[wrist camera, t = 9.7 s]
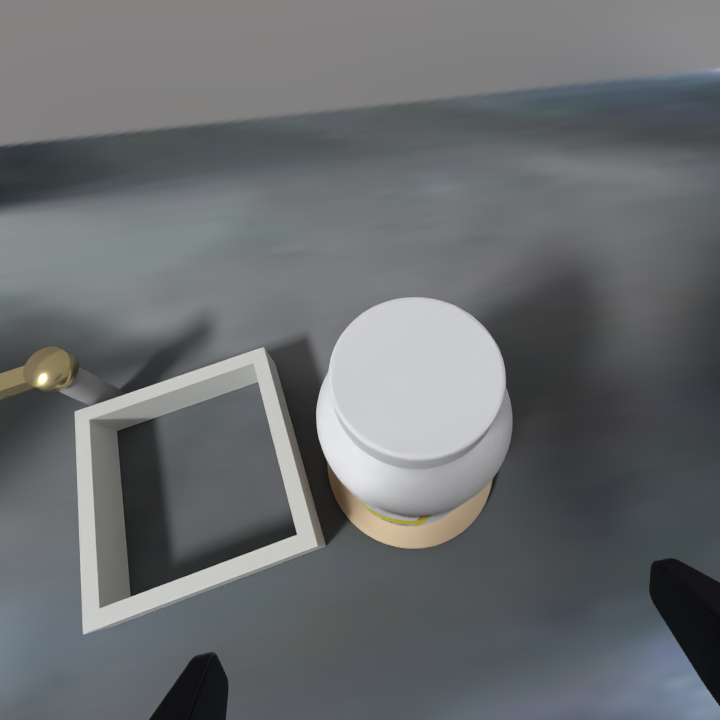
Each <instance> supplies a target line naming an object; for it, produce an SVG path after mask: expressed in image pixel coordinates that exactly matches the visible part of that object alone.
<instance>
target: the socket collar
mask: <svg viewBox="0 0 720 720" xmlns="http://www.w3.org/2000/svg"><path fill="white" fill-rule="evenodd" d="M257 382H259V386H260V390H261V394H262V398H263V402H264V406H265V410H266V414H267V418H268V422H269V426H270V430H271V434H272V438H273V441H274V445H275V449H276V453H277V457H278V461H279V465H280V469H281V473H282V477H283V481H284V485H285V489H286V493H287V497H288V501H289V505H290V509H291V513H292V517H293V520H294V524H295V528H296V532H297V535H295V536H292V537H290V538H287V539H284V540H282V541H279V542H276V543H273V544H271V545H268V546H265V547H263V548H260V549H257V550H255V551H252V552H249V553H247V554H244V555H241V556H239V557H236V558H233V559H231V560H228V561H225V562H223V563H220V564H217V565H215V566H212V567H209V568H207V569H204V570H201V571H198V572H196V573H193V574H190V575H188V576H185V577H182V578H180V579H177V580H174V581H172V582H169V583H166V584H164V585H161V586H158V587H156V588H153V589H150V590H148V591H145V592H142V593H140V594H137V595H134V596H132V597H131V593H130V581H129V569H128V557H127V545H126V533H125V521H124V509H123V497H122V485H121V473H120V461H119V449H118V437H117V431H119V430H122V429H124V428H127V427H130V426H133V425H136V424H139V423H142V422H145V421H148V420H150V419H153V418H156V417H159V416H162V415H165V414H168V413H171V412H173V411H176V410H179V409H182V408H185V407H188V406H191V405H194V404H197V403H199V402H202V401H205V400H208V399H211V398H214V397H217V396H220V395H222V394H225V393H228V392H231V391H234V390H237V389H240V388H243V387H246V386H248V385H251V384H254V383H257ZM59 392H61V393H63V394H65V395H68V396H70V397H72V398H74V399H76V400H78V401H81V402H83V403H85V404H87V405H89V406H90V407H87V408H84V409H81V410H78V411H75V432H76V459H77V485H78V512H79V538H80V565H81V591H82V618H83V634H87V633H90V632H94V631H97V630H101V629H105V628H108V627H112V626H116V625H119V624H121V623H124V622H127V621H129V620H132V619H135V618H137V617H140V616H143V615H145V614H148V613H150V612H153V611H156V610H158V609H161V608H164V607H166V606H169V605H172V604H174V603H177V602H180V601H182V600H185V599H188V598H190V597H193V596H196V595H198V594H201V593H204V592H206V591H209V590H212V589H214V588H217V587H219V586H222V585H225V584H227V583H230V582H233V581H235V580H238V579H241V578H243V577H246V576H249V575H251V574H254V573H257V572H259V571H262V570H265V569H267V568H270V567H273V566H275V565H278V564H280V563H283V562H286V561H288V560H291V559H294V558H296V557H299V556H302V555H304V554H307V553H310V552H312V551H315V550H318V549H320V548H323V547H326V544H325V540H324V537H323V533H322V529H321V526H320V522H319V519H318V515H317V512H316V508H315V504H314V501H313V497H312V494H311V490H310V486H309V483H308V479H307V476H306V472H305V468H304V465H303V461H302V458H301V454H300V451H299V447H298V443H297V440H296V436H295V433H294V429H293V425H292V422H291V418H290V415H289V411H288V408H287V404H286V400H285V397H284V393H283V390H282V386H281V382H280V379H279V375H278V372H277V368H276V365H275V363H274V361H273V360H272V358H271V357H270V355H269V354H268V352H267V351H266V349H265V348H264V347H262V348H259V349H256V350H253V351H250V352H248V353H245V354H242V355H239V356H236V357H233V358H230V359H227V360H224V361H221V362H218V363H215V364H212V365H210V366H207V367H204V368H201V369H198V370H195V371H192V372H189V373H186V374H183V375H180V376H177V377H174V378H171V379H169V380H166V381H163V382H160V383H157V384H154V385H151V386H148V387H145V388H142V389H139V390H136V391H133V392H130V393H128V394H127V393H125V392H123V391H121V390H120V389H118V388H116V387H114V386H113V385H111V384H109V383H107V382H106V381H104V380H102V379H100V378H99V377H97V376H95V375H93V374H92V373H90V372H88V371H86V370H84V369H83V368H81V367H79V371H78V374H77V376H76V378H75V379H74V381H73V382H72V383H71V384H70V385H69V386H68V387H66V388H65V389H63V390H61V391H59Z"/></svg>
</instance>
